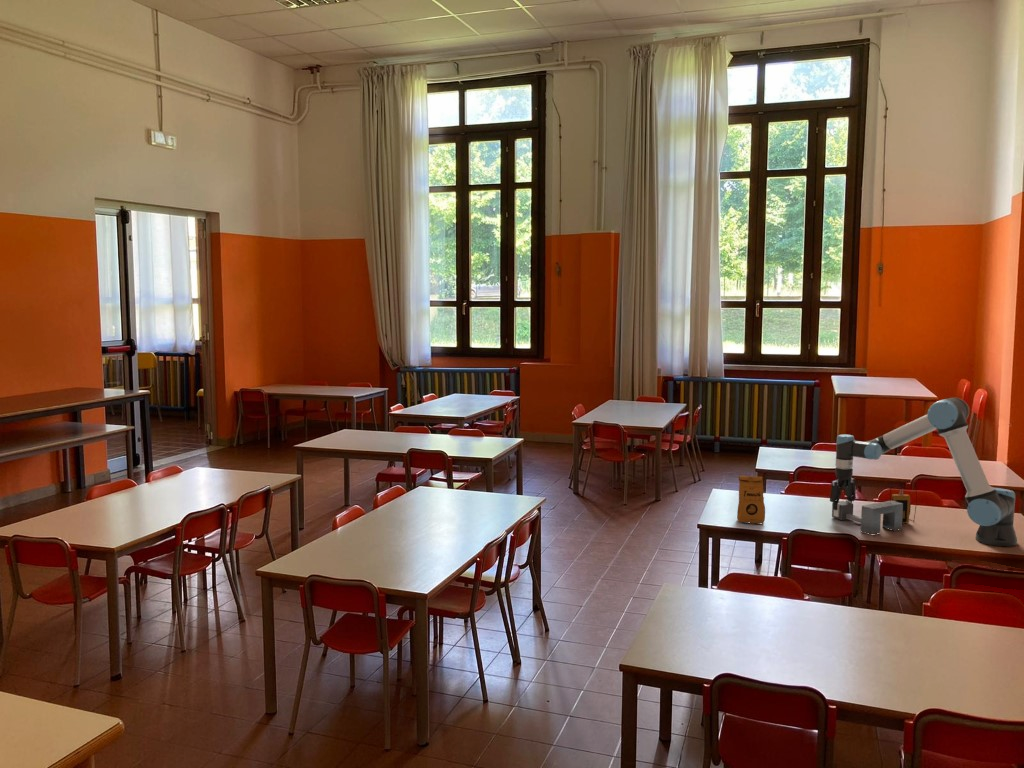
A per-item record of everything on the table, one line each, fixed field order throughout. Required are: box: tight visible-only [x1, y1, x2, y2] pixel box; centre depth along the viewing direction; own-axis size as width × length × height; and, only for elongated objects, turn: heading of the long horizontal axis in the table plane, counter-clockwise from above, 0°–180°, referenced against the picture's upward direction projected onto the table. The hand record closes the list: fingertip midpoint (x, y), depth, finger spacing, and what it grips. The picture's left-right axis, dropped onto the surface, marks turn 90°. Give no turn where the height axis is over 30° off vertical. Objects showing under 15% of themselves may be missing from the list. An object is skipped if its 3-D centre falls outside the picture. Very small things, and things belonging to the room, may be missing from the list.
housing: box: [860, 499, 903, 535], centre depth 357 cm, size 6×19×12 cm, turn 116°
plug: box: [831, 500, 861, 524], centre depth 370 cm, size 20×7×7 cm, turn 26°
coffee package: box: [736, 475, 766, 524], centre depth 371 cm, size 10×12×22 cm
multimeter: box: [889, 480, 918, 524], centre depth 372 cm, size 15×10×20 cm
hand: (842, 515), depth 377 cm, fingers closed on plug, 7 cm apart
